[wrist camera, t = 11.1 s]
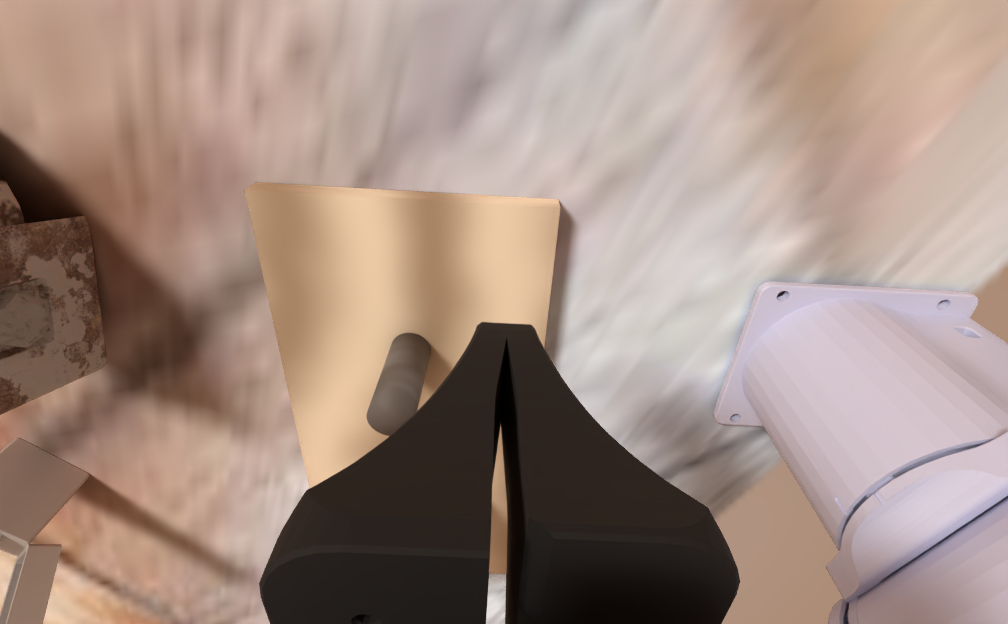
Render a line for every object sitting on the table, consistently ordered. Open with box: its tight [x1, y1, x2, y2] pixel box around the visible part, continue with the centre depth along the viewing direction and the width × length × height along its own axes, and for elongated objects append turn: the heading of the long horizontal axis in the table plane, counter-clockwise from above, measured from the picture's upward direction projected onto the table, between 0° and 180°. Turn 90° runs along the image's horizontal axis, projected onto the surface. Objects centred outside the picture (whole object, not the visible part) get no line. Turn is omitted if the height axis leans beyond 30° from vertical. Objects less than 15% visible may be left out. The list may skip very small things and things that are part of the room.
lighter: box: [0, 438, 90, 624], centre depth 25 cm, size 7×2×8 cm, turn 43°
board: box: [245, 182, 560, 574], centre depth 24 cm, size 12×24×6 cm, turn 177°
